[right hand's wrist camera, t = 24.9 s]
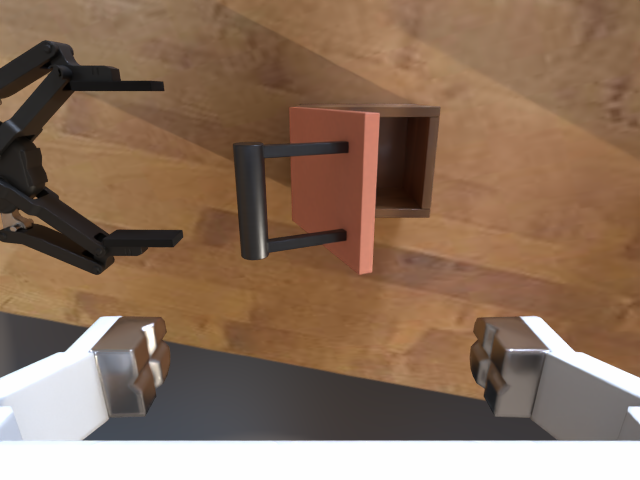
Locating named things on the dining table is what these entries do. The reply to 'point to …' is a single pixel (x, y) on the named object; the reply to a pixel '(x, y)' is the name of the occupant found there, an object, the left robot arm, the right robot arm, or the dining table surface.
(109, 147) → the dining table surface
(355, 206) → the lid
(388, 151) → the chest
